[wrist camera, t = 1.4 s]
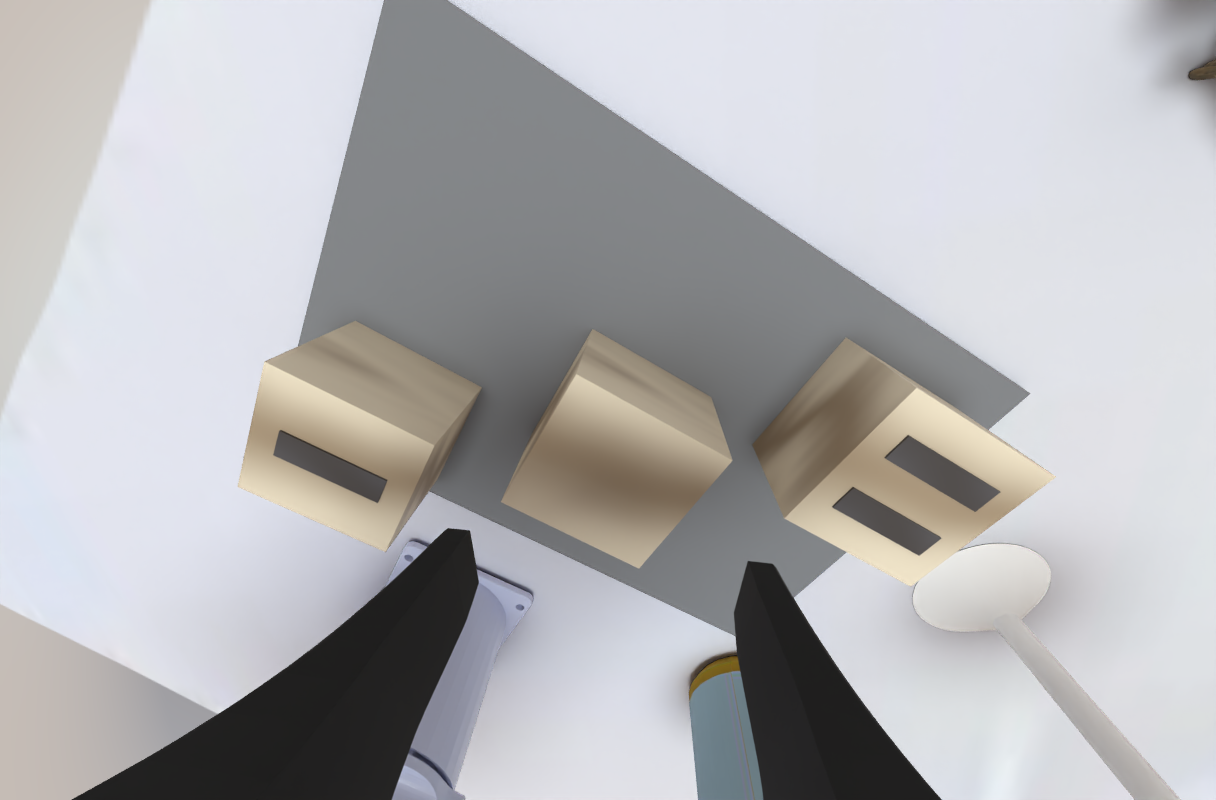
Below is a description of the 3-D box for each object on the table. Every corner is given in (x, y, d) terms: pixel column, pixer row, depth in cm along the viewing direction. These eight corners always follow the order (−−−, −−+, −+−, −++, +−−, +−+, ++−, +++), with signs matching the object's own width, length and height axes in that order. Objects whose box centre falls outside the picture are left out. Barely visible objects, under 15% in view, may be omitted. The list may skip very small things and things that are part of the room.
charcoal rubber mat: (742, 634, 26) (744, 640, 26) (285, 416, 22) (279, 420, 21) (1022, 389, 18) (1030, 393, 18) (399, -31, 14) (393, -37, 13)
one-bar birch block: (437, 478, 22) (384, 553, 18) (323, 423, 21) (235, 488, 17) (482, 387, 20) (433, 446, 15) (355, 320, 19) (262, 362, 14)
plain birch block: (639, 489, 21) (638, 568, 17) (531, 434, 21) (500, 501, 16) (711, 397, 19) (732, 460, 15) (592, 328, 18) (576, 374, 14)
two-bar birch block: (853, 501, 21) (912, 588, 16) (751, 444, 20) (784, 519, 15) (955, 407, 18) (1058, 478, 14) (846, 337, 17) (918, 388, 13)
